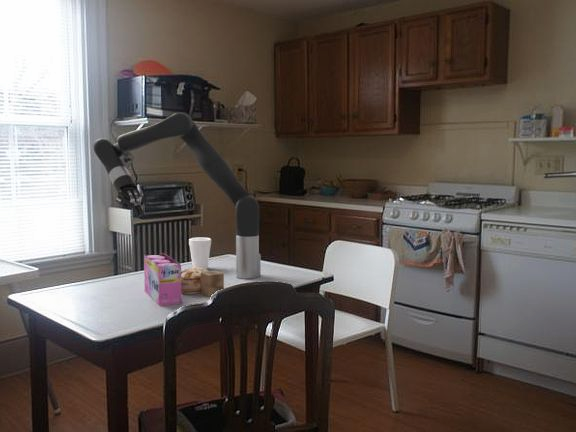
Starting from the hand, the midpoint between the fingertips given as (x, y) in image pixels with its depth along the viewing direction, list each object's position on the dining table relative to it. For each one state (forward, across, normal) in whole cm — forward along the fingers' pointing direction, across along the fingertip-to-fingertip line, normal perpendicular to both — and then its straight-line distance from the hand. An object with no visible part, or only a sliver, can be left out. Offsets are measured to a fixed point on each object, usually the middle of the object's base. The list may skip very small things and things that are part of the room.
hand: (141, 215), depth 201 cm
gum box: (+31, -3, +8) cm, 32 cm away
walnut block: (+39, +11, 0) cm, 40 cm away
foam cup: (+13, +36, +26) cm, 46 cm away
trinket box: (+31, +12, +7) cm, 34 cm away
